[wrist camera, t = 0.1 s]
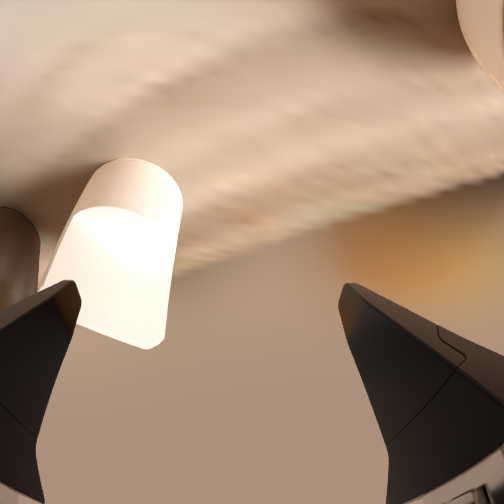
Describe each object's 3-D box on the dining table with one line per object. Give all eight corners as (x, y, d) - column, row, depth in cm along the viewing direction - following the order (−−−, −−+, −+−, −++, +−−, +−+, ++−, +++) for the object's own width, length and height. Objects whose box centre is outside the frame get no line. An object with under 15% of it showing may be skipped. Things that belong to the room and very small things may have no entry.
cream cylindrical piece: (75, 210, 26) (30, 320, 18) (111, 139, 21) (47, 257, 13) (152, 250, 31) (134, 361, 22) (203, 193, 26) (192, 320, 18)
